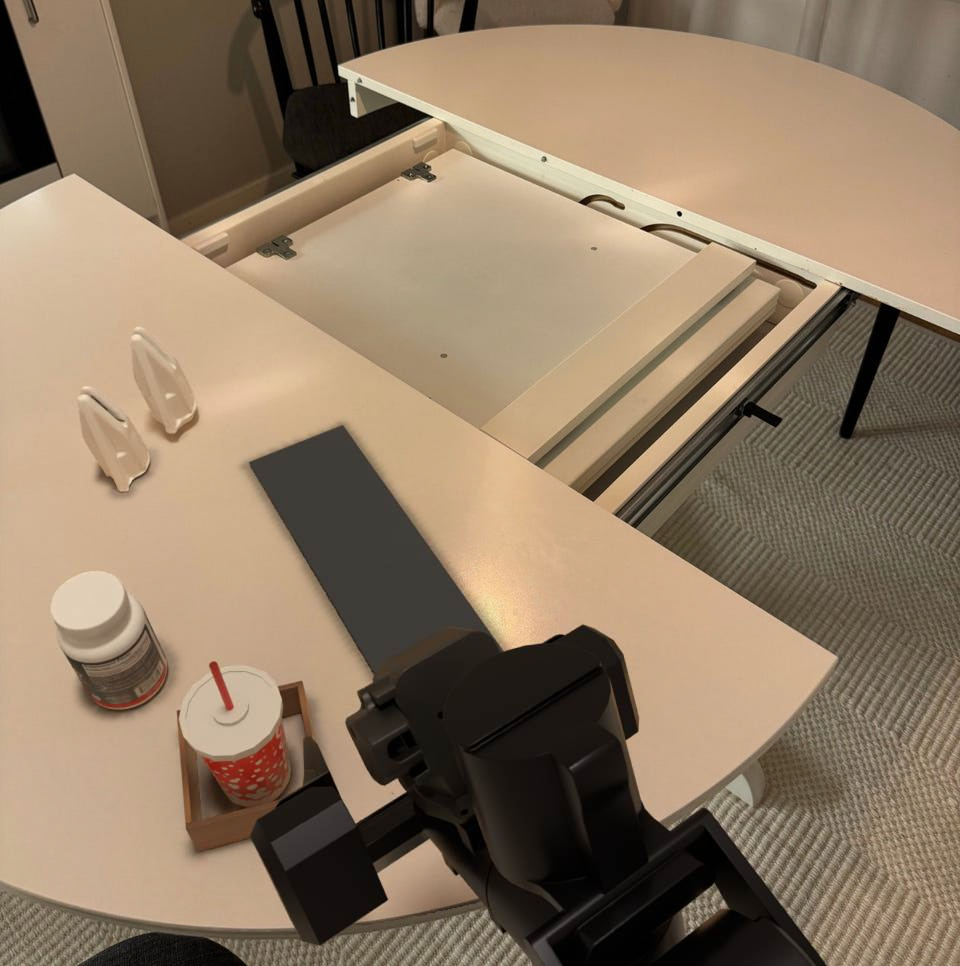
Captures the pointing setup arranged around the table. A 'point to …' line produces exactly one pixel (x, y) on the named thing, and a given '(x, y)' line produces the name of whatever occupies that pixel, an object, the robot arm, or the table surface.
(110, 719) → the table surface
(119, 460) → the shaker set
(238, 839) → the square wooden frame
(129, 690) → the pill bottle
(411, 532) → the mat
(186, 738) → the beverage cup
